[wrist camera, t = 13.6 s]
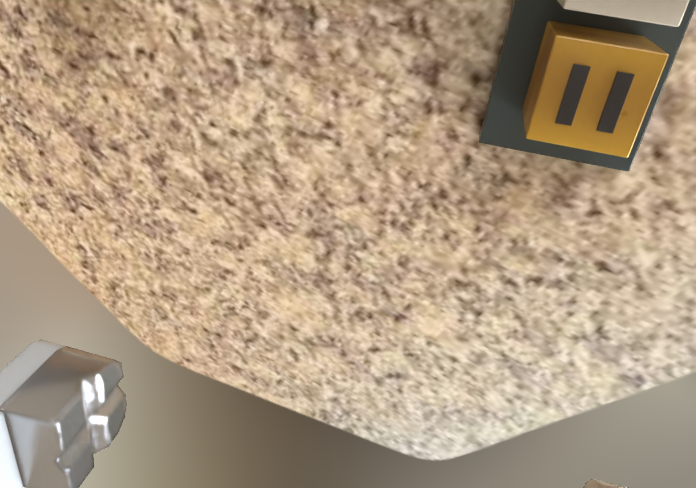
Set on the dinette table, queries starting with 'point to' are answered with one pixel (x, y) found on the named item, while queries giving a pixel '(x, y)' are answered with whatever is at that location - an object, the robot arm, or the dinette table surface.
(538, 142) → the slate board
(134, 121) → the dinette table surface
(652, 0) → the tile
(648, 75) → the yellow striped cube
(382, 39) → the dinette table surface
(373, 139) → the dinette table surface
